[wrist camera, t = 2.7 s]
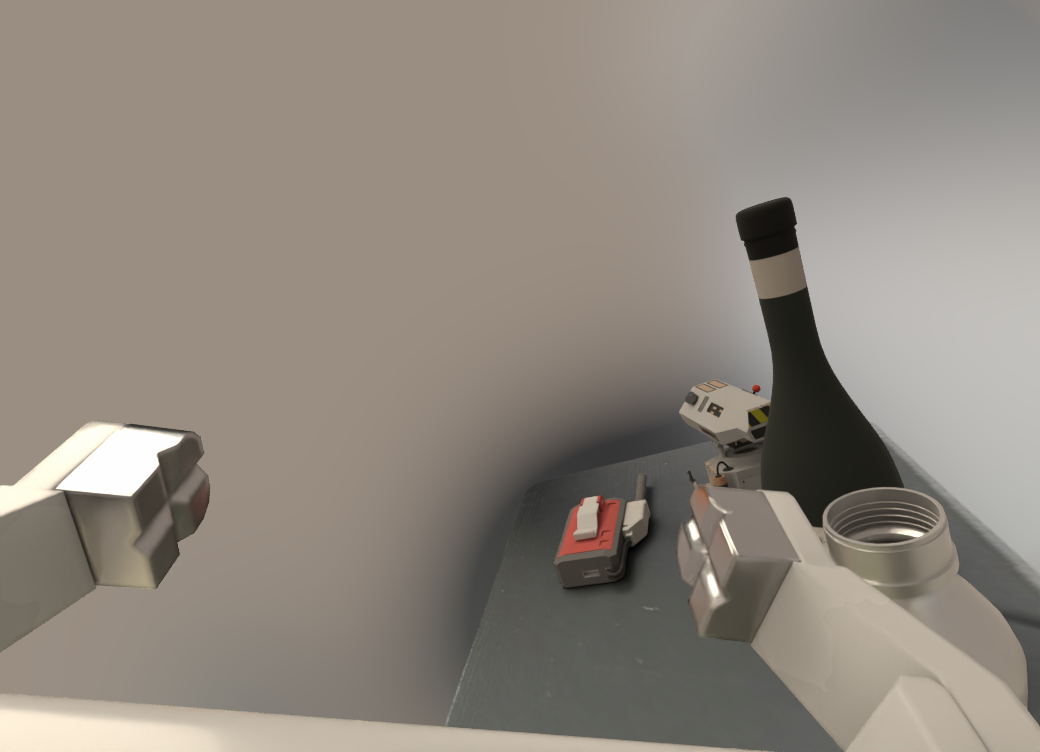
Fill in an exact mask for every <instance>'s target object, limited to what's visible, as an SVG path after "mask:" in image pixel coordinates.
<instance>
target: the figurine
mask: <svg viewBox="0 0 1040 752" xmlns="http://www.w3.org/2000/svg"><path fill="white" fill-rule="evenodd" d="M752 389H753V391H754V392H753V393H750V392H748V391H745V390H743V389H742V390H741V389H739V388H736V387H734V386H731V385H729V384H726V383H724V382H721V381H719V380H717V379H714V380H712V381H709V382H706V383H703V384H700V385H697V386H695V387H693V388H692V390H691V391H690V392H689V393H688V395H687V396H686V398H685V402H684V404H683V406H682V408H681V410H680V411H679V413H680V415H681V416H682V418H683V419H684V421H685V422H686V423H687V424H689V425H690V426H692V427H694V428H695V429H697V430H698V431H700V432H702V433H703V434H705V435H707V436H709V437H710V438H712V439H713V441H712V443H714V445H715V447H716V448H718V450H719V454H718V455H716V456H715V457H713V458H712V459H710V460H709V461H707V462H705V465H706V469H707V472H708V475H709V476H708V477H709V480H710V483H711V484H710V483H708V484H706V486H716V487H726V488H736V489H746V490H755V491H757V490H762V488H761V455H762V447H763V442H764V436H765V431H766V426H767V421H768V415H769V410H770V403H771V401H769V400H766V399H764V398H761V397H758V396H757V395H755V393H756V392H759V391H760V386H758V385H755V386H753V388H752ZM761 440H763V441H761ZM723 445H728V446H730V447H729V448H727V449H725V450H724V448H723ZM688 474H689V477H690V481H691V482H692V483H693V486H694V488H695V489H696V488H697V487H698V483H697V482H696V480H693V477H692V475H691V472H690V471H688Z"/></svg>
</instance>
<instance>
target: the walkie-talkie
mask: <svg viewBox="0 0 1040 752" xmlns="http://www.w3.org/2000/svg"><path fill="white" fill-rule="evenodd" d="M645 488H646V475H645V474H643V473H641V474H639V475H638V481H637V489H636V496H635V500H634V502H628V503H626V500H624V499H622V498H617V497H616V498H610V499H605V500H604V498H603V496H602V495H600V496H595V497H590V498H584V499H582V501H581V504H578V505H577V506H575V507H574V508H573V509H571V510H570V513H569V516H568V519H567V522H566V525H565V528H564V532H563V535H562V538H561V541H560V544H559V547H558V550H557V553H556V556H555V559H554V563H553V565H554V567H555V570H556V573H557V576H558V579H559V581H560V584H561V585H562V586H564V587H565V588H571V587H578V586H586V585H593V584H601V583H608V582H616V581H617V580H619V579H621V578H622V577H623V576H624V573H625V566H626V558H627V551H628V548H629V547H632V546H634V545H635V544H637V543H638V542H639V541H640V540H641V539H642V538H644V537H645V536H646V535H647V531H648V519H649V518H650V511H649V508H648V505H647V501H646V500H644V498H645Z"/></svg>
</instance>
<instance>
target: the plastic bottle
mask: <svg viewBox="0 0 1040 752" xmlns="http://www.w3.org/2000/svg"><path fill="white" fill-rule="evenodd" d="M823 528H824V532H825V537H826V541H827V545H828V546H827V552H828V553H829V555H830V557H831V558H832V560H833V561H834V563H835V565H836V566H842V567H847V568H848V569H849V570H851V571H852V572H853V573H855V574H856V575H858V576H859V577H860V578H862V579H863V580H865V581H866V582H867V583H869V584H870V585H872V586H873V587H874V588H876V589H877V590H878V591H880V592H881V593H883V594H884V595H885V596H887V597H888V598H890V599H891V600H892V601H894V602H895V603H896V604H898V605H899V606H901V607H902V608H903V609H905V610H906V611H908V612H909V613H910V614H912V615H913V616H915V617H916V618H917V619H919V620H920V621H921V622H923V623H924V624H926V625H927V626H928V627H930V628H931V629H933V630H934V631H935V632H937V633H938V634H940V635H941V636H942V637H944V638H945V639H946V640H948V641H949V642H951V643H952V644H953V645H955V646H956V647H958V648H959V649H960V650H962V651H963V652H964V653H966V654H967V655H969V656H970V657H971V658H973V659H974V660H976V661H977V662H978V663H980V664H981V665H983V666H984V667H985V668H987V669H988V670H989V671H991V672H992V673H994V674H995V675H996V676H998V677H999V678H1001V679H1002V680H1003V681H1005V682H1006V683H1007V684H1008V685H1009V687H1010V688H1011V689H1012V691H1013V692H1014V693H1015V695H1016V696H1017V697H1018V698H1019V700H1020V701H1021V702H1022V704H1023V705H1024V706H1025V708H1026V709H1027V698H1028V679H1027V666H1026V658H1025V655H1024V652H1023V649H1022V646H1021V645H1020V643H1019V641H1018V640H1017V638H1016V636H1015V635H1014V633H1013V631H1012V629H1011V628H1010V626H1009V624H1008V623H1007V621H1006V620H1005V618H1004V617H1003V615H1002V614H1001V613H1000V611H999V610H998V609H997V608H996V607H995V606H993V605H992V604H991V603H990V602H989V601H988V600H987V599H986V598H985V597H984V596H983V595H982V594H981V593H980V592H979V591H977V590H976V589H975V588H974V587H973V586H972V585H971V584H970V583H969V582H967V581H966V580H965V579H963V578H962V577H961V576H959V575H958V574H957V572H958V569H959V560H958V555H957V550H956V546H955V544H954V543H953V541H952V540H951V537H950V532H949V527H948V521H947V517H946V514H945V512H944V509H943V508H942V506H941V505H940V503H938V502H937V501H936V500H935V499H933V498H932V497H930V496H928V495H926V494H923V493H920V492H918V491H914V490H909V489H904V488H895V487H879V488H869V489H862V490H858V491H854V492H851V493H848V494H846V495H843V496H841V497H839V498H837V499H836V500H834V501H833V502H832V503H830V504H829V505H828V507H827V508H826V509H825V511H824V513H823Z"/></svg>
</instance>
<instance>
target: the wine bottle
mask: <svg viewBox="0 0 1040 752" xmlns="http://www.w3.org/2000/svg"><path fill="white" fill-rule="evenodd" d="M736 222H737V226H738V231H739V234H740V238H741V240H742V241H744V242H745V243H744V246H745V247H746V250H747V254H748V258H749V262H750V265H751V269H752V274H753V277H754V281H755V285H756V289H757V293H758V297H759V301H760V305H761V309H762V313H763V317H764V321H765V325H766V329H767V333H768V338H769V343H770V347H771V352H772V362H773V387H772V397H771V403H770V410H769V415H768V421H767V426H766V431H765V436H764V442H763V447H762V455H761V488H762V490H768V491H780V492H788V493H789V494H791V495H792V496H793V497H794V498H795V500H796V501H797V503H798V504H799V506H800V508H801V509H802V511H803V513H804V514H805V516H806V517H807V519H808V521H809V522H810V524H811V526H812V527H813V529H814V530H815V532H816V534H817V535H818V537H819V539H820V540H821V542H822V543H823V545H824V547H825V548H826V550H827V546H828V545H827V541H826V537H825V532H824V528H823V513H824V511H825V509H826V508H827V507H828V505H829V504H830V503H832V502H833V501H834V500H836V499H837V498H839V497H841V496H843V495H846V494H848V493H851V492H854V491H858V490H862V489H869V488H879V487H895V488H904V485H903V483H902V480H901V478H900V475H899V472H898V470H897V468H896V466H895V463H894V461H893V459H892V457H891V455H890V453H889V451H888V450H887V448H886V446H885V445H884V443H883V441H882V440H881V438H880V437H879V435H878V434H877V433H876V431H875V430H874V428H873V427H872V426H871V424H870V423H869V422H868V420H867V419H866V418H865V416H864V415H863V414H862V413H861V411H860V410H859V409H858V407H857V406H856V405H855V403H854V402H853V400H852V399H851V398H850V396H849V395H848V394H847V392H846V391H845V389H844V388H843V387H842V385H841V384H840V382H839V380H838V379H837V377H836V376H835V374H834V372H833V371H832V369H831V367H830V365H829V363H828V361H827V359H826V356H825V354H824V351H823V349H822V346H821V343H820V340H819V336H818V332H817V328H816V324H815V320H814V315H813V311H812V306H811V302H810V297H809V293H808V288H807V284H806V279H805V274H804V269H803V265H802V260H801V255H800V251H799V246H798V241H797V237H796V229H795V227H794V226H795V225H796V224H797V222H796V217H795V212H794V208H793V204H792V201H791V199H790V198H787V197H784V198H778V199H775V200H771V201H767V202H764V203H761V204H758V205H755V206H752V207H749V208H747V209H744V210H742V211H740V212H738V213H737V215H736Z"/></svg>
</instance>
